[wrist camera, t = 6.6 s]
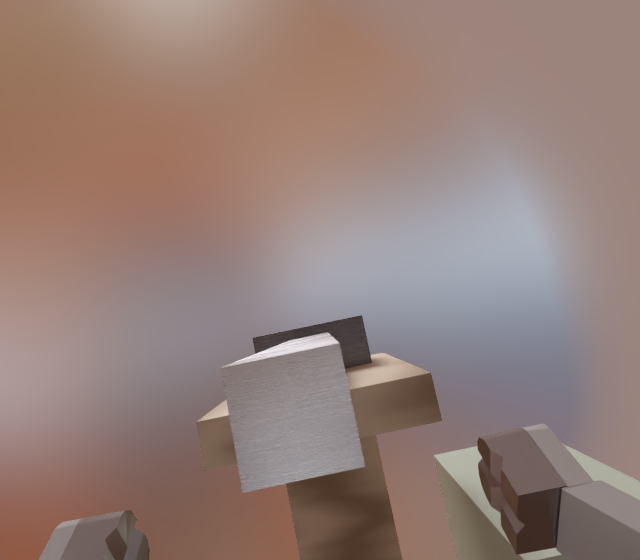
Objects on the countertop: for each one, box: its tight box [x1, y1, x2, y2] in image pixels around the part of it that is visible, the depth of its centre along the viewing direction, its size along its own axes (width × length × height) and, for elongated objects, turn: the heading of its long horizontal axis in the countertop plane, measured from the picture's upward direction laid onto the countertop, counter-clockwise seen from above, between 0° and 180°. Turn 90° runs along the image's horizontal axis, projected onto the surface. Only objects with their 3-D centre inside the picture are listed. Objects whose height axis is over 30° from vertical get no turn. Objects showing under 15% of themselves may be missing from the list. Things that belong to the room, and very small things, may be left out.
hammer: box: [221, 316, 372, 493], centre depth 19 cm, size 7×22×3 cm, turn 0°
